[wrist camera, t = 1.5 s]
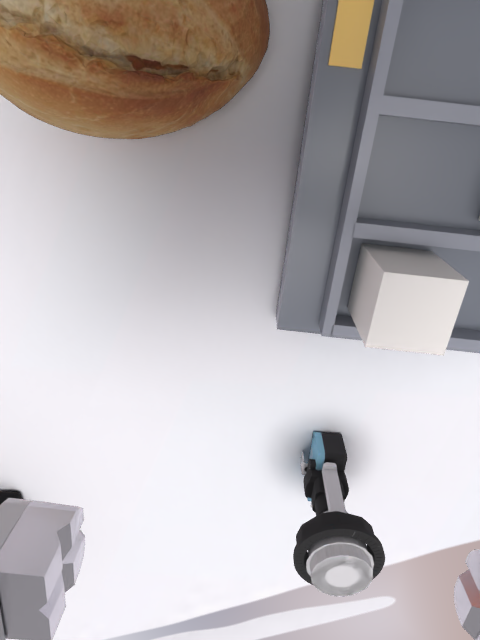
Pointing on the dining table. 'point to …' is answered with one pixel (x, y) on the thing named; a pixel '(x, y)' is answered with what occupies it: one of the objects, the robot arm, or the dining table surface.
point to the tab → (405, 299)
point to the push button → (334, 526)
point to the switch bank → (386, 156)
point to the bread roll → (128, 61)
